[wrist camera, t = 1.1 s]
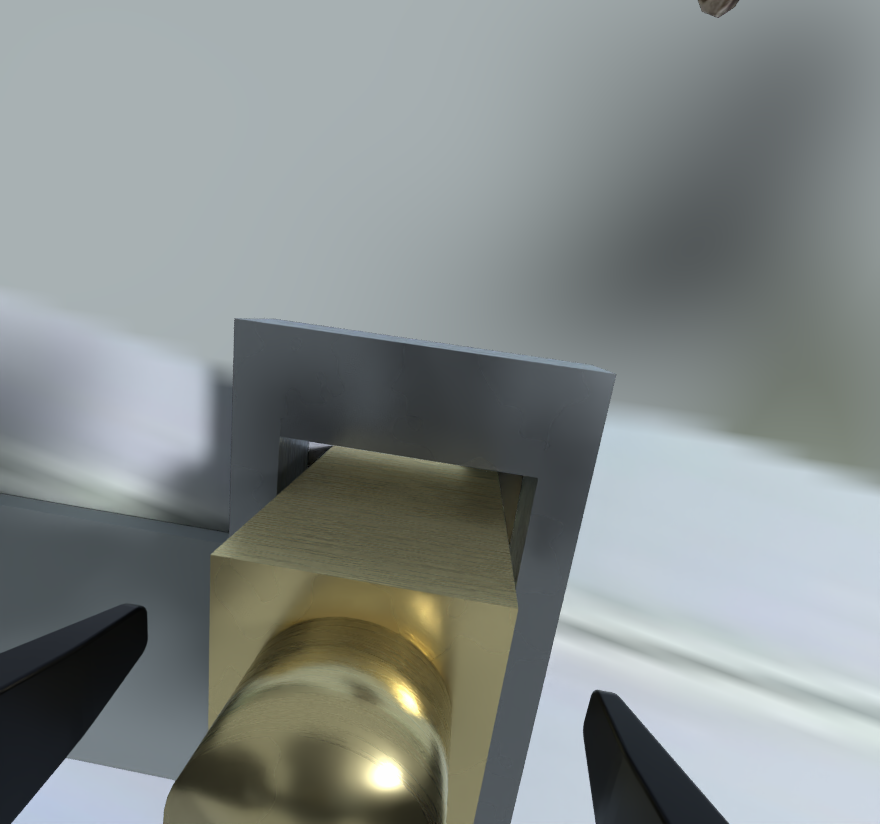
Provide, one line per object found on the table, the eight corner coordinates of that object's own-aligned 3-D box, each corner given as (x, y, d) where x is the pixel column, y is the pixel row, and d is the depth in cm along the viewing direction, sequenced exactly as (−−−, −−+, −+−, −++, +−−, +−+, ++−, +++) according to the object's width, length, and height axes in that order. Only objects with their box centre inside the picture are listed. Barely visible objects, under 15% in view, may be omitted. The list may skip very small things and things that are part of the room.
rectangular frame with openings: (469, 919, 16) (468, 1000, 14) (248, 871, 17) (219, 943, 15) (591, 364, 11) (616, 374, 9) (274, 318, 12) (234, 318, 10)
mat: (265, 779, 16) (257, 797, 15) (17, 728, 16) (0, 744, 15) (279, 541, 13) (270, 551, 13) (-11, 491, 14) (-32, 499, 13)
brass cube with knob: (471, 615, 13) (467, 1024, 6) (322, 588, 14) (118, 944, 6) (497, 471, 12) (537, 734, 4) (333, 445, 13) (102, 649, 5)
